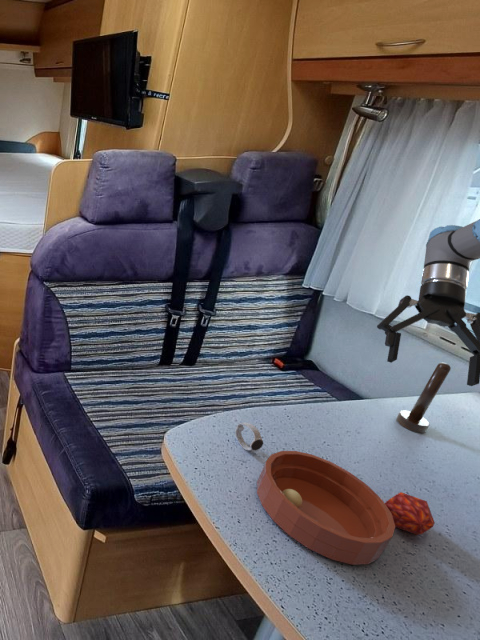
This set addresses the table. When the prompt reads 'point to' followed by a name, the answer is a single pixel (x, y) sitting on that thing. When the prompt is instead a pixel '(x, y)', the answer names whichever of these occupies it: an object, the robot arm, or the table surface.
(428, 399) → the wooden handled stamp
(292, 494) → the dough ball
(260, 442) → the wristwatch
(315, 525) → the bowl
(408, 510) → the decorative stone
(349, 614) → the table surface
